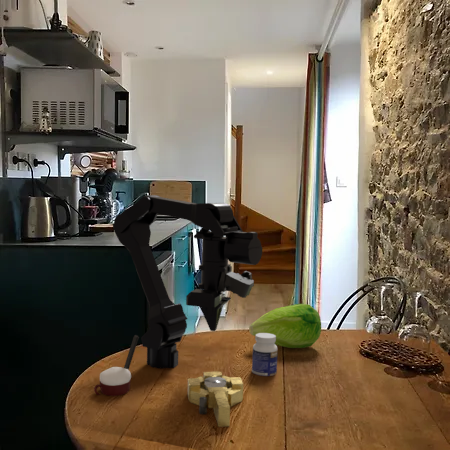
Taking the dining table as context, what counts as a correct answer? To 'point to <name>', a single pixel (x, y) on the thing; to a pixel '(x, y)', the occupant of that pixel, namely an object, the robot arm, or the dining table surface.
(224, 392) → the wooden ring wrench
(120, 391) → the cocoa
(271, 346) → the pill bottle
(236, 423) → the dining table surface
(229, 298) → the robot arm
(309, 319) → the lettuce
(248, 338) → the dining table surface
